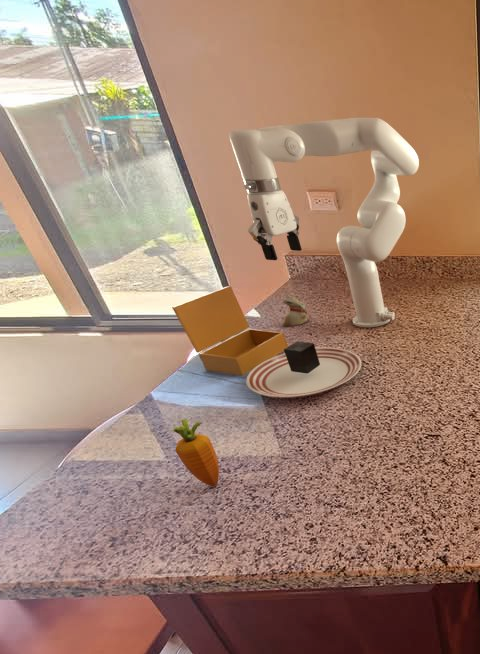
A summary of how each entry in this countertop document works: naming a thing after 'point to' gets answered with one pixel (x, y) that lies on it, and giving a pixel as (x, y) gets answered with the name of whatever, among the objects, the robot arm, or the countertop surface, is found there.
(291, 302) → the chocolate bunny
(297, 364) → the black block
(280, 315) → the countertop surface
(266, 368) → the dinner plate
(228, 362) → the box
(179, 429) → the carrot
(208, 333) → the hinged box lid
